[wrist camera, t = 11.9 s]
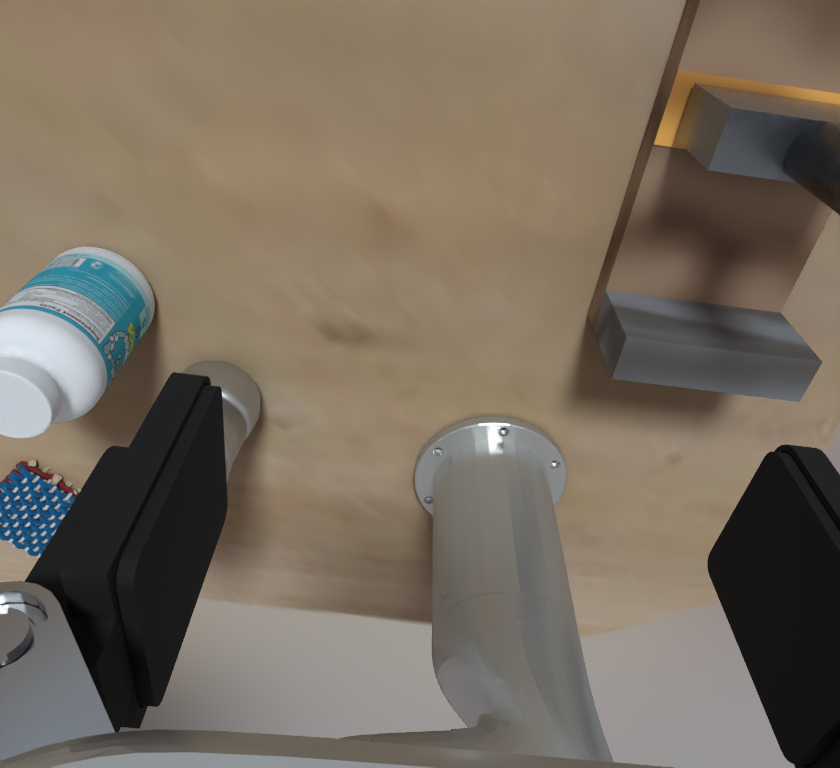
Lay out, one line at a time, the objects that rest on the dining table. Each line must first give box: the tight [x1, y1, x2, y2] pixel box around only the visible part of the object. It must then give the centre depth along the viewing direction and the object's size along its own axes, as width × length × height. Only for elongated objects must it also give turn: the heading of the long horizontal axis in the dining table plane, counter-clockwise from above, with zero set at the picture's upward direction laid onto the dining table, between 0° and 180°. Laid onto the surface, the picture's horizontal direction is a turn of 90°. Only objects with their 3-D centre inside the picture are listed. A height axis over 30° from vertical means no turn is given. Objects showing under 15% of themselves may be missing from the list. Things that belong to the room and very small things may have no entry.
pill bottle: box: [0, 247, 155, 438], centre depth 42 cm, size 8×7×14 cm
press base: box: [588, 0, 840, 402], centre depth 37 cm, size 26×12×8 cm, turn 172°
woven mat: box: [0, 459, 81, 558], centre depth 60 cm, size 10×11×2 cm
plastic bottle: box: [182, 361, 260, 482], centre depth 44 cm, size 6×7×20 cm
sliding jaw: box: [676, 83, 840, 215], centre depth 31 cm, size 3×10×16 cm, turn 83°
